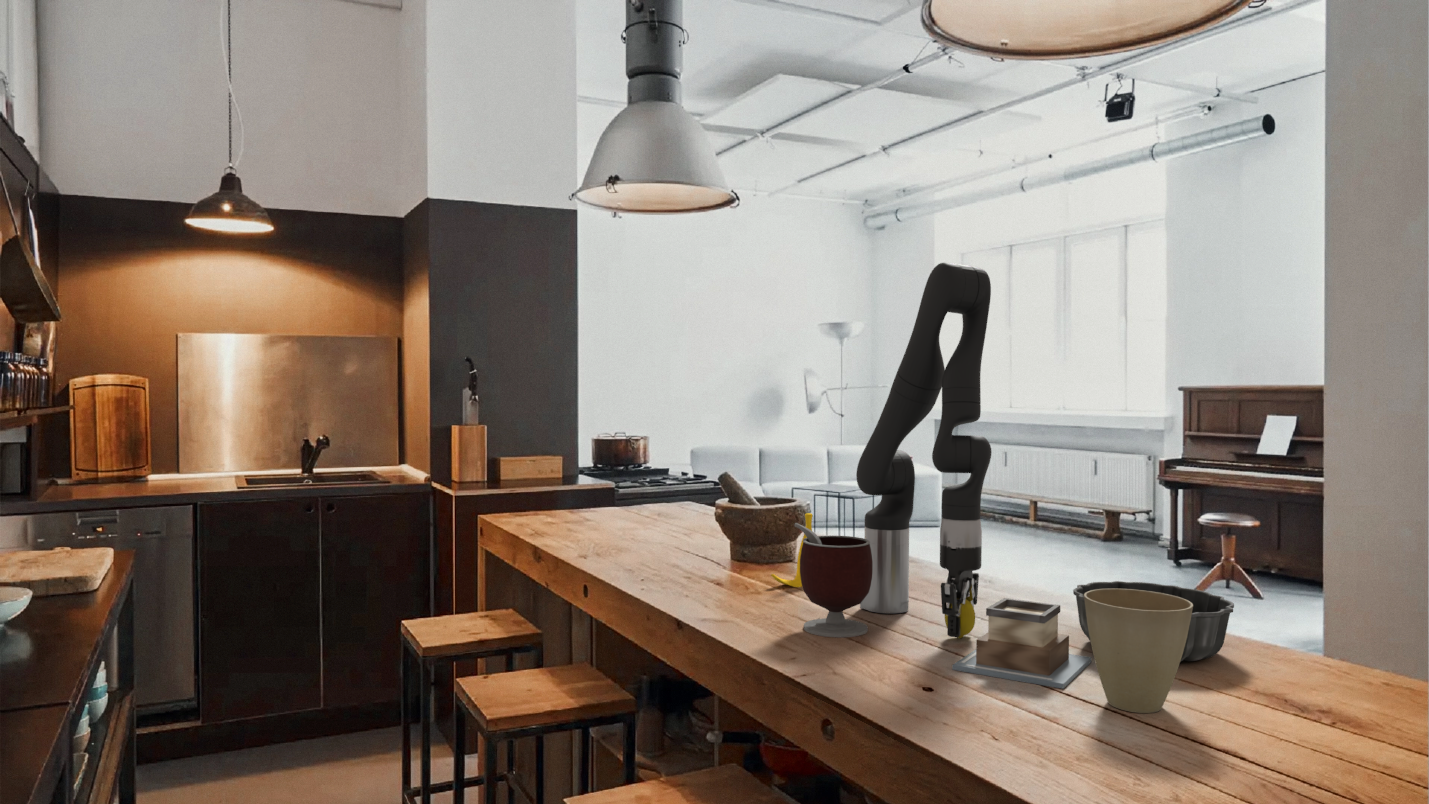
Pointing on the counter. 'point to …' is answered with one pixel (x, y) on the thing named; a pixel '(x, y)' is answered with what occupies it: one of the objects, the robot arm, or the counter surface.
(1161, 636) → the plant pot
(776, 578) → the banana peel
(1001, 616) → the block tower
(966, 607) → the lemon
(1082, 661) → the board
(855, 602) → the mate gourd
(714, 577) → the counter surface
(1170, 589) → the bundt pan
